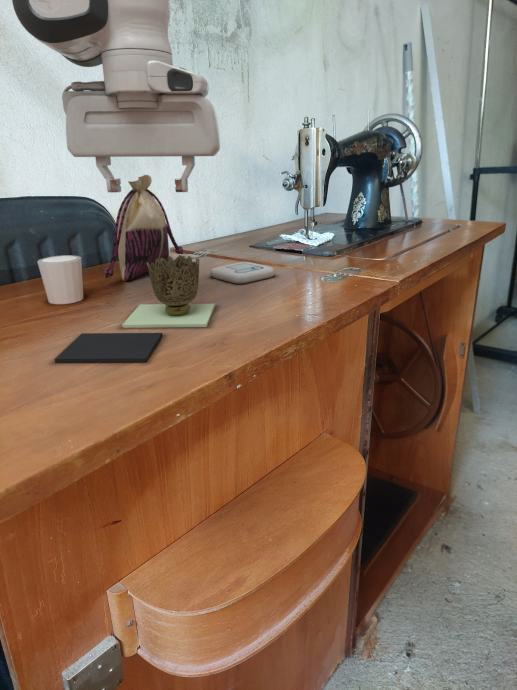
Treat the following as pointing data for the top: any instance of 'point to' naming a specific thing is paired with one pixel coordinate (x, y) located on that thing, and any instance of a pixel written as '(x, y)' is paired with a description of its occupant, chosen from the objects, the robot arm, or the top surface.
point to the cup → (175, 282)
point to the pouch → (140, 232)
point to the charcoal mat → (110, 347)
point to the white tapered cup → (62, 278)
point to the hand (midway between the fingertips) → (148, 192)
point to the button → (242, 272)
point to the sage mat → (168, 317)
